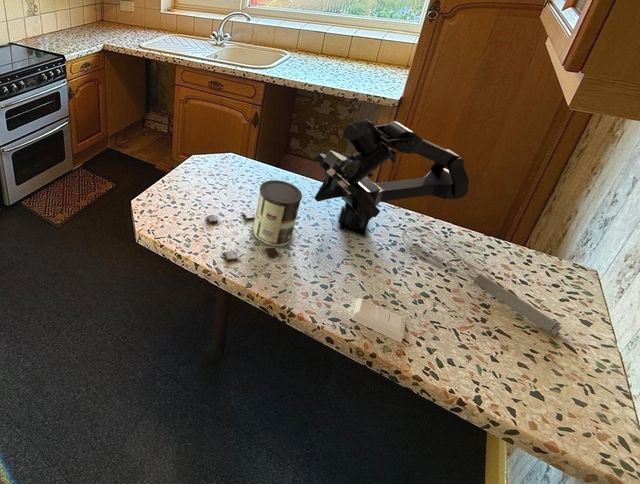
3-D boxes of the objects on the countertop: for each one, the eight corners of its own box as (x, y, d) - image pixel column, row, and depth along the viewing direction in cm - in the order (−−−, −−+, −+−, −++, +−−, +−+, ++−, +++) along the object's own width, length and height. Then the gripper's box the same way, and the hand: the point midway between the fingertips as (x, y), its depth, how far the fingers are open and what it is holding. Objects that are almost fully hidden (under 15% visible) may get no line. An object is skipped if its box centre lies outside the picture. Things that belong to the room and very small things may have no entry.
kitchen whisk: (563, 351, 79) (580, 329, 76) (393, 244, 105) (400, 226, 103) (576, 337, 81) (592, 316, 79) (406, 237, 108) (414, 218, 105)
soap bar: (400, 342, 80) (404, 334, 79) (351, 319, 85) (354, 311, 84) (402, 325, 84) (406, 316, 83) (355, 303, 89) (358, 295, 87)
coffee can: (287, 223, 113) (297, 181, 106) (295, 248, 104) (306, 205, 97) (250, 218, 114) (257, 177, 108) (254, 243, 105) (262, 200, 99)
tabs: (251, 214, 116) (251, 212, 116) (278, 256, 101) (278, 254, 101) (206, 218, 115) (207, 215, 114) (227, 261, 100) (227, 259, 99)
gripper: (328, 126, 107) (282, 164, 111) (375, 163, 91) (319, 206, 94) (348, 150, 112) (303, 185, 115) (396, 189, 95) (342, 229, 99)
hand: (315, 199), depth 106 cm, fingers closed
